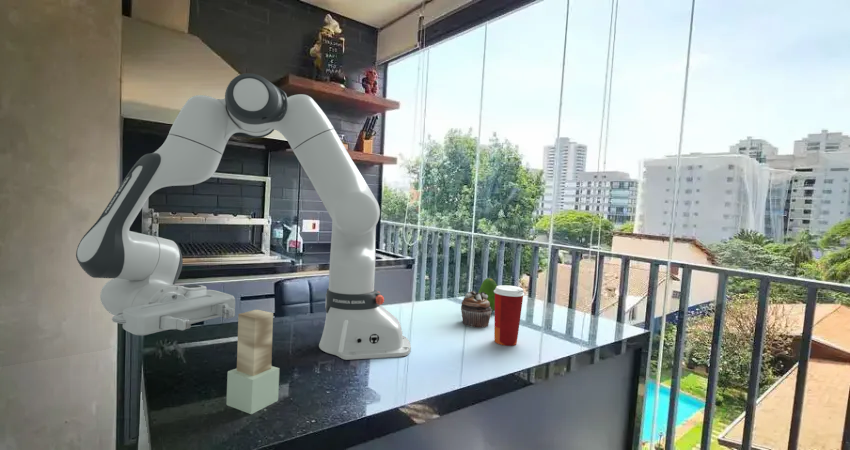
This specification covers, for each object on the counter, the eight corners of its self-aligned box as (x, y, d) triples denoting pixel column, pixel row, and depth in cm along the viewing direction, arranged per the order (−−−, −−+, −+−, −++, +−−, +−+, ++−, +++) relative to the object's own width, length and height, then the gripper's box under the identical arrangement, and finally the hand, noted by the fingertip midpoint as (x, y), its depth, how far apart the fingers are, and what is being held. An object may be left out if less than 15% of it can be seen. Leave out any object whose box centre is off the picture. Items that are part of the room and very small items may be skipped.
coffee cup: (526, 343, 119) (530, 288, 118) (510, 349, 113) (514, 292, 112) (500, 335, 125) (504, 283, 124) (483, 341, 119) (487, 286, 118)
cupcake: (456, 325, 133) (458, 292, 132) (464, 317, 142) (466, 287, 141) (487, 330, 129) (489, 297, 129) (493, 322, 138) (496, 291, 138)
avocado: (475, 314, 147) (478, 278, 146) (476, 308, 155) (479, 275, 154) (499, 316, 146) (502, 281, 145) (499, 310, 154) (502, 277, 153)
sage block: (254, 392, 81) (255, 360, 81) (278, 400, 78) (279, 368, 78) (226, 405, 76) (227, 371, 75) (251, 414, 73) (252, 379, 73)
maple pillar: (255, 363, 79) (256, 309, 79) (271, 368, 78) (273, 313, 77) (236, 370, 76) (238, 314, 75) (253, 376, 74) (255, 317, 73)
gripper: (106, 300, 78) (155, 313, 72) (208, 283, 96) (254, 293, 90) (106, 335, 78) (154, 351, 72) (207, 312, 96) (252, 323, 90)
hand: (210, 319), depth 81 cm, fingers open, 8 cm apart
